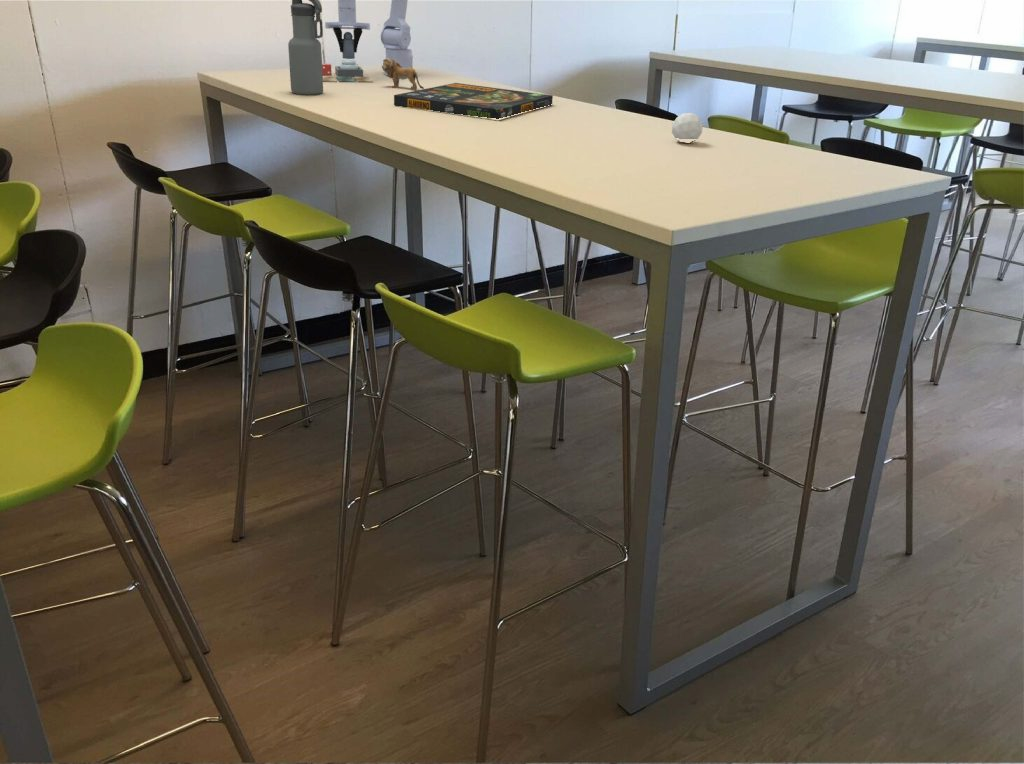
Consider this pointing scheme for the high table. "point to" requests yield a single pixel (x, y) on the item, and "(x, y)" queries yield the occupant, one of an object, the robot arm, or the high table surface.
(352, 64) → the dome
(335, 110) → the high table surface
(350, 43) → the pawn
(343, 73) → the dome frame
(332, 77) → the track
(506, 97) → the board game box
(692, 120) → the geometric ball
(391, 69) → the lion figurine
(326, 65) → the red die
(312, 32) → the water bottle
